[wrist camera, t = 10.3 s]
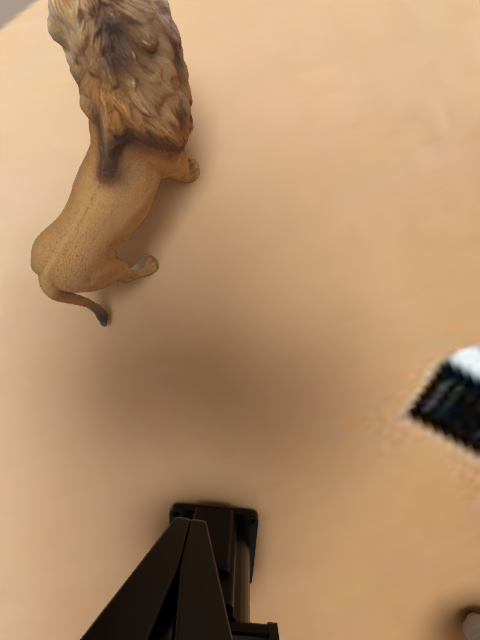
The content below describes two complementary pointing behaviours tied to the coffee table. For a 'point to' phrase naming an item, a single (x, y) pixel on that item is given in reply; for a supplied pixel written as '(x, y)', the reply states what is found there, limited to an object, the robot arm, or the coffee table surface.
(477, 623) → the lightbulb
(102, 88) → the lion figurine
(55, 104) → the coffee table surface
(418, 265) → the coffee table surface
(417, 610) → the coffee table surface
